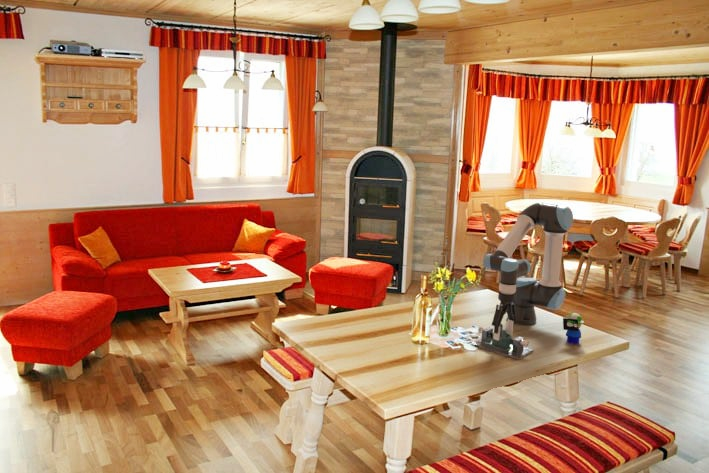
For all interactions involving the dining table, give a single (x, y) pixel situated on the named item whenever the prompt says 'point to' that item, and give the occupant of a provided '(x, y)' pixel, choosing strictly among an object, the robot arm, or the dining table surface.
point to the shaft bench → (514, 351)
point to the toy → (573, 327)
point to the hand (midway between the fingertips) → (502, 336)
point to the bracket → (503, 339)
